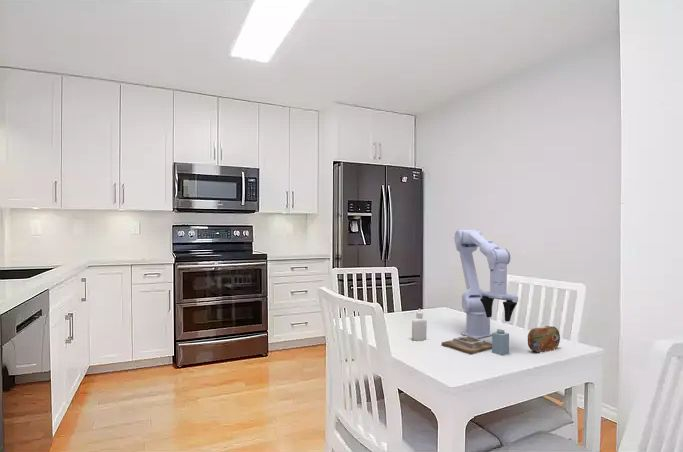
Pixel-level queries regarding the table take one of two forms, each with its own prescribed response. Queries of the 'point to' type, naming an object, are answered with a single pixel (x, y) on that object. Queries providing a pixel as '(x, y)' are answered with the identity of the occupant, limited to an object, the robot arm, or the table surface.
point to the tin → (543, 339)
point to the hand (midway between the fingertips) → (498, 319)
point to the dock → (468, 344)
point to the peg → (500, 342)
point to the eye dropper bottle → (419, 327)
